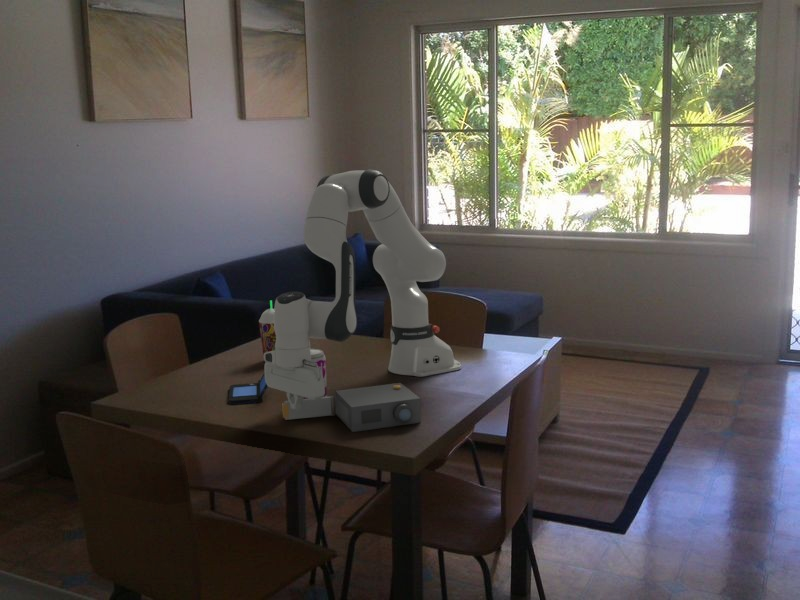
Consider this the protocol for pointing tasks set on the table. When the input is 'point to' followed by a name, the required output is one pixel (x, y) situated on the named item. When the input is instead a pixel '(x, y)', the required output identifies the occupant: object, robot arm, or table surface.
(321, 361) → the supplement can
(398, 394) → the camera body
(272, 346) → the smoothie
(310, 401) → the side door
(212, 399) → the table surface
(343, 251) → the robot arm
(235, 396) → the handheld game console
